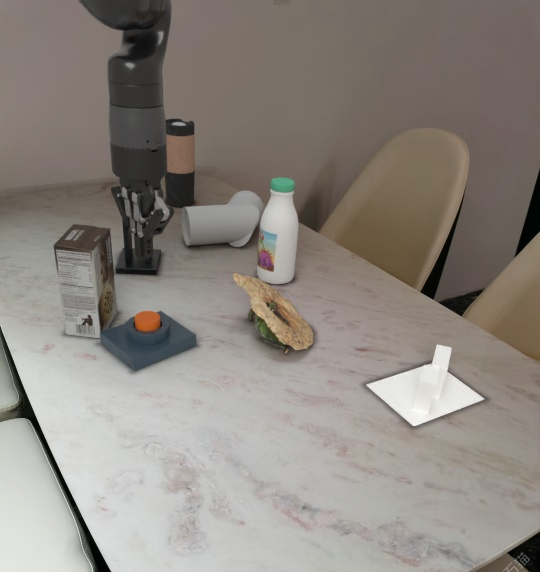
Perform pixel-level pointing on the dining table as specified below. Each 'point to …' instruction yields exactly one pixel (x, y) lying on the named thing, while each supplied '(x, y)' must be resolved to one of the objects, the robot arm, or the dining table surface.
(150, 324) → the button
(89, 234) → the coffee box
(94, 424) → the dining table surface
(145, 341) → the button box
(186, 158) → the travel mug
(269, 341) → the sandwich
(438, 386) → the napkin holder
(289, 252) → the milk bottle
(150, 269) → the bracket
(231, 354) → the dining table surface
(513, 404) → the dining table surface
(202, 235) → the elbow connector
